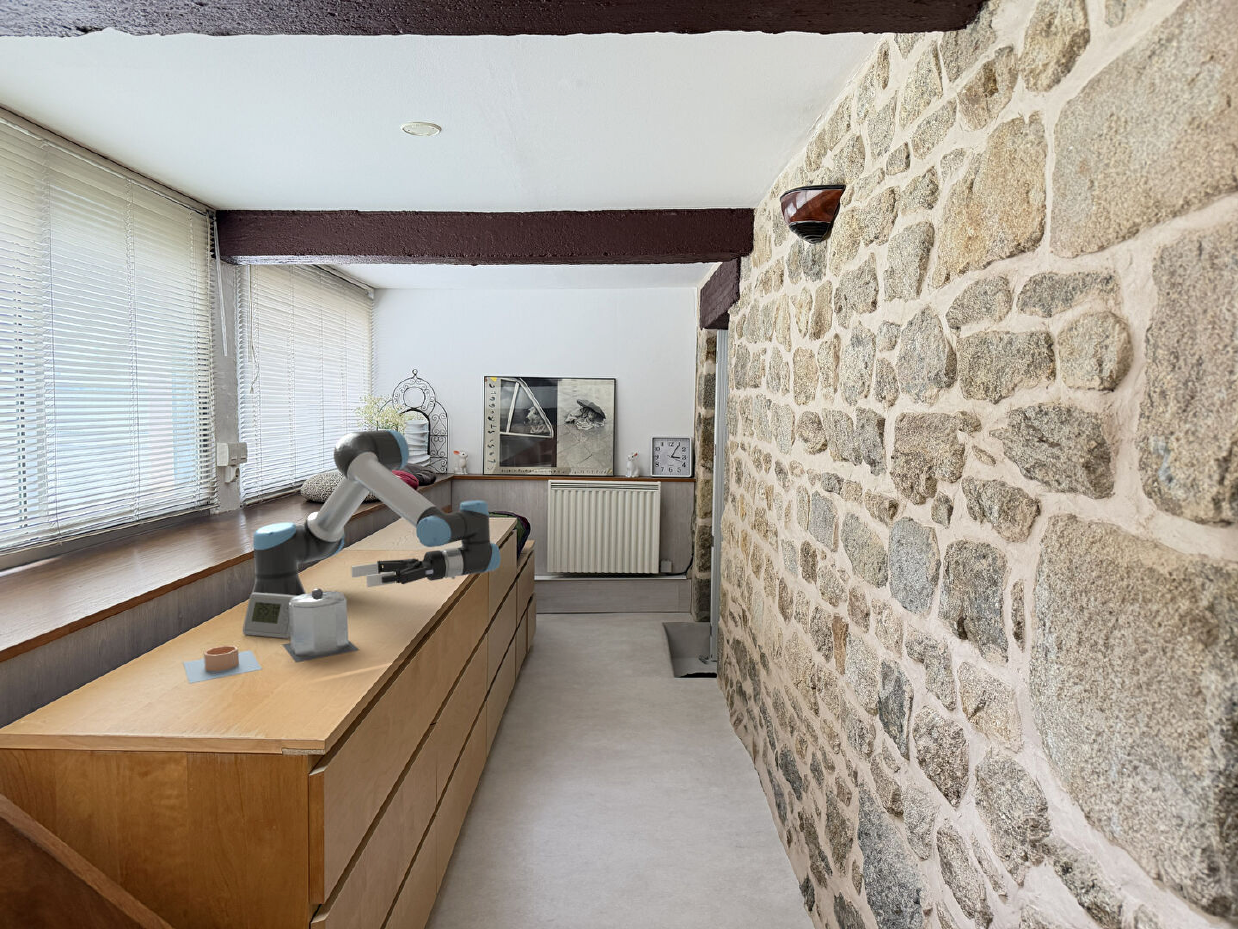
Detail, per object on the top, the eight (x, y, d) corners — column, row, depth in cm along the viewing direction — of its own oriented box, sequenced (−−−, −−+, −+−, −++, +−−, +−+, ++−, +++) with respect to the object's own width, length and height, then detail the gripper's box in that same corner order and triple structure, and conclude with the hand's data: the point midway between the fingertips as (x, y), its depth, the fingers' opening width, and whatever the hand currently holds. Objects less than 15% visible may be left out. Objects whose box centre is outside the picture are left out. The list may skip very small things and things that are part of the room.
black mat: (282, 646, 182) (282, 644, 182) (341, 635, 190) (341, 633, 190) (296, 665, 169) (295, 662, 169) (359, 652, 177) (359, 650, 177)
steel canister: (288, 645, 181) (284, 587, 180) (339, 636, 188) (336, 580, 187) (298, 659, 171) (295, 597, 170) (352, 648, 178) (349, 589, 177)
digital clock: (239, 636, 192) (236, 595, 191) (270, 627, 200) (268, 587, 199) (279, 645, 184) (277, 603, 183) (310, 635, 192) (308, 594, 191)
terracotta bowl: (203, 664, 169) (202, 649, 169) (236, 658, 173) (235, 643, 172) (206, 673, 163) (205, 657, 163) (240, 666, 167) (239, 651, 167)
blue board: (183, 665, 171) (183, 662, 171) (250, 652, 179) (250, 650, 178) (189, 686, 158) (189, 683, 157) (262, 671, 165) (262, 669, 165)
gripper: (461, 587, 186) (375, 601, 174) (426, 570, 206) (346, 582, 194) (459, 557, 185) (373, 569, 173) (424, 543, 206) (345, 554, 194)
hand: (359, 576), depth 184 cm, fingers open, 13 cm apart
